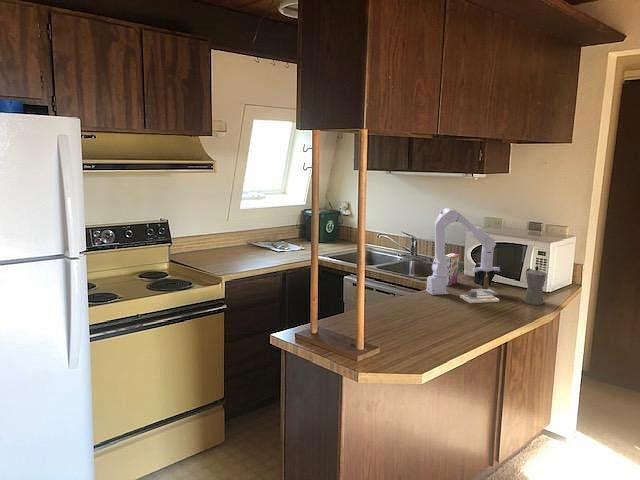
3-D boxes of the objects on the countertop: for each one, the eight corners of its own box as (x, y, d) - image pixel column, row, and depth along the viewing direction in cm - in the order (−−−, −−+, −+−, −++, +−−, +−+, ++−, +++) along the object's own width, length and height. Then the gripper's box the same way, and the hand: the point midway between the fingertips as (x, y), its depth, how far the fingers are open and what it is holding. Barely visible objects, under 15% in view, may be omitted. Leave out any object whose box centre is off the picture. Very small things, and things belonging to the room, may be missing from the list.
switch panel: (469, 303, 254) (469, 299, 253) (459, 297, 263) (460, 293, 263) (499, 301, 257) (499, 298, 257) (488, 296, 267) (488, 292, 266)
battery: (488, 284, 291) (489, 264, 289) (484, 285, 288) (486, 265, 286) (476, 281, 296) (478, 262, 294) (473, 282, 293) (474, 262, 291)
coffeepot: (550, 306, 252) (553, 269, 248) (531, 306, 250) (535, 269, 247) (533, 297, 267) (536, 262, 263) (515, 297, 265) (518, 262, 262)
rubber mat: (480, 295, 267) (480, 294, 267) (470, 290, 276) (471, 289, 276) (498, 295, 269) (498, 293, 269) (488, 289, 279) (488, 288, 278)
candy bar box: (449, 286, 284) (451, 257, 281) (440, 284, 287) (442, 255, 284) (457, 282, 293) (459, 254, 290) (449, 281, 296) (451, 252, 293)
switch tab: (470, 298, 257) (471, 292, 257) (468, 296, 260) (468, 290, 260) (476, 297, 258) (476, 291, 257) (473, 296, 261) (473, 290, 260)
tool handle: (483, 289, 270) (484, 278, 269) (479, 287, 274) (480, 276, 273) (489, 289, 271) (490, 278, 270) (486, 287, 274) (486, 276, 273)
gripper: (478, 261, 264) (476, 287, 267) (503, 260, 267) (501, 286, 270) (471, 258, 271) (469, 283, 273) (496, 257, 274) (494, 282, 276)
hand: (484, 284), depth 272 cm, fingers closed on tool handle, 4 cm apart
